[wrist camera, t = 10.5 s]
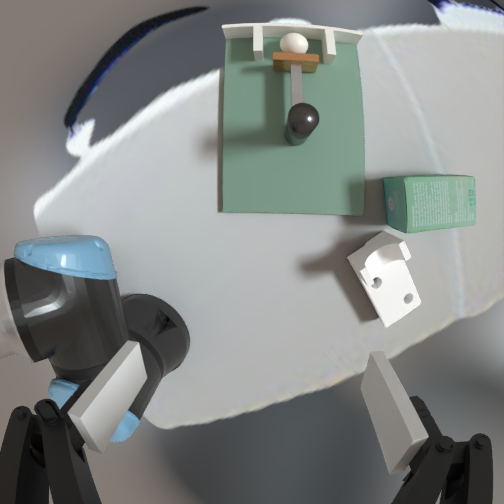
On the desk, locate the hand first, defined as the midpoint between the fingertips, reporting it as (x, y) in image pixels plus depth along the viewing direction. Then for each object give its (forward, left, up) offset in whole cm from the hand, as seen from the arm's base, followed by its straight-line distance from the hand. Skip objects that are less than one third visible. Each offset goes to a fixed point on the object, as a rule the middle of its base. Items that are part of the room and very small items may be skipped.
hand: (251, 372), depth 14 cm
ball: (+4, +31, -24) cm, 39 cm away
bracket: (+19, -3, -27) cm, 33 cm away
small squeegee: (+4, +22, -26) cm, 34 cm away
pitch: (+4, +20, -27) cm, 34 cm away
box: (+24, +9, -27) cm, 37 cm away
